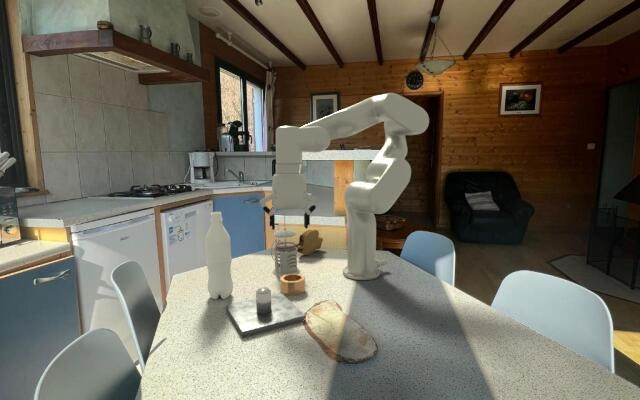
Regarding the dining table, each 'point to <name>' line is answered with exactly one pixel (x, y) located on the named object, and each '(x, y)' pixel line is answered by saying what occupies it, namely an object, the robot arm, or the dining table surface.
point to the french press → (285, 253)
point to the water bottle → (218, 258)
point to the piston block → (263, 313)
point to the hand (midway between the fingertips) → (289, 228)
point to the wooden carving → (309, 242)
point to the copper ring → (292, 284)
